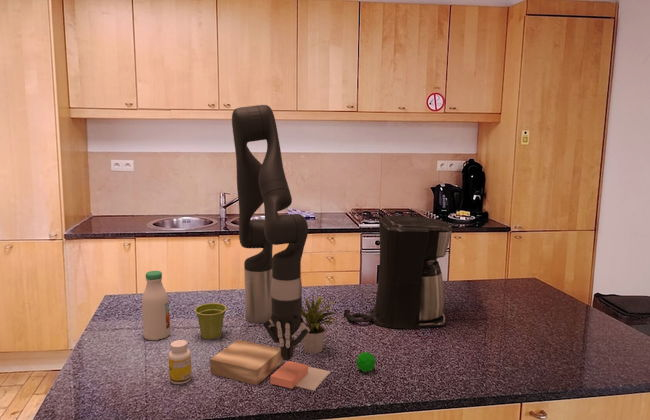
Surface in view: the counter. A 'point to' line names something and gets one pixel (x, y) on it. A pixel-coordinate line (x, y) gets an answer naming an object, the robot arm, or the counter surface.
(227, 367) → the wooden block
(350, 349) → the counter surface
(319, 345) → the house plant
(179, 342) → the supplement bottle
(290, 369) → the salmon orange flat block
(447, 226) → the coffee maker
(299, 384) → the mat
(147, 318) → the milk bottle
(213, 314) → the plant pot
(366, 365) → the polyhedron
